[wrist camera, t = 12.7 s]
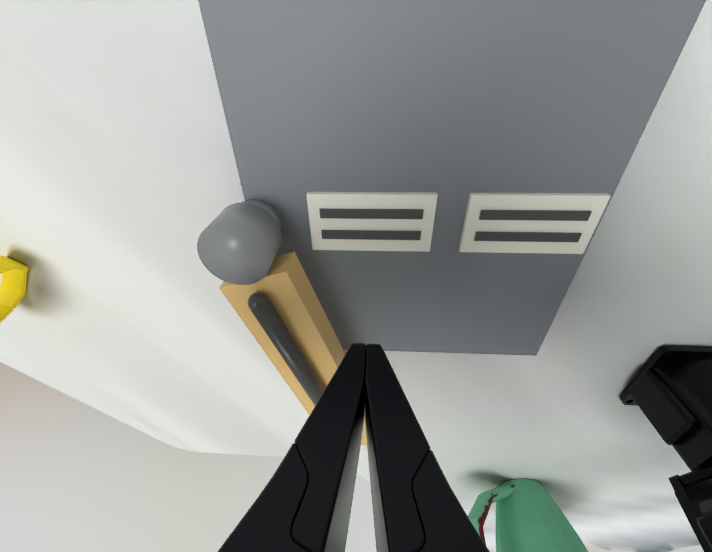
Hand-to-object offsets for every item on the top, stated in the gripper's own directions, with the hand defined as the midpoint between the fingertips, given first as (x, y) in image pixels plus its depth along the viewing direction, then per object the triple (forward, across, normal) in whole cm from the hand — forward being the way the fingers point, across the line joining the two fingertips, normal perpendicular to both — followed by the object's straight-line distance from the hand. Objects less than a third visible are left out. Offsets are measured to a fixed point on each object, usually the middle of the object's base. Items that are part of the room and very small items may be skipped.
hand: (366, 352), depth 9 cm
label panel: (+10, -2, 0) cm, 10 cm away
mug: (+10, -16, +33) cm, 38 cm away
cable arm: (+7, +4, +8) cm, 11 cm away
